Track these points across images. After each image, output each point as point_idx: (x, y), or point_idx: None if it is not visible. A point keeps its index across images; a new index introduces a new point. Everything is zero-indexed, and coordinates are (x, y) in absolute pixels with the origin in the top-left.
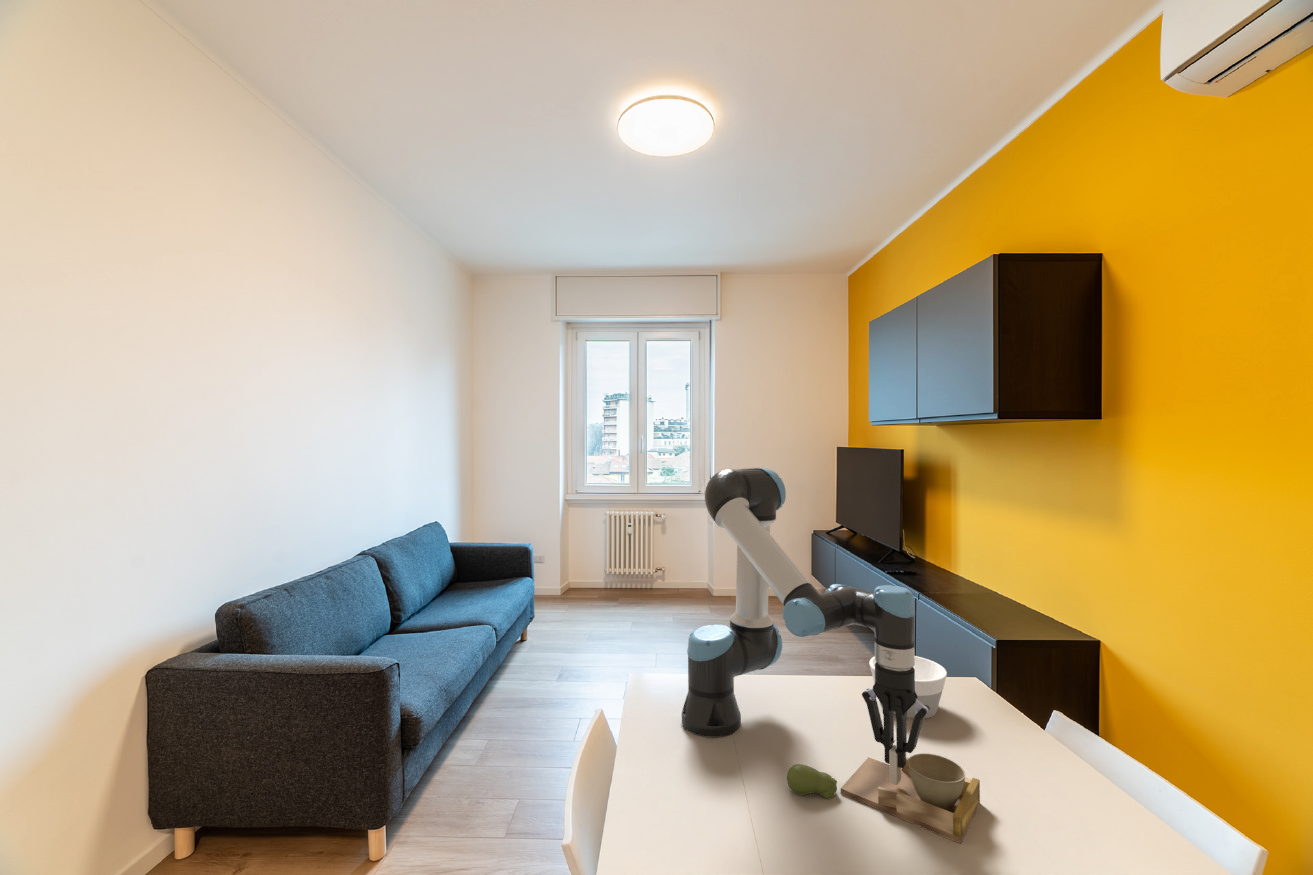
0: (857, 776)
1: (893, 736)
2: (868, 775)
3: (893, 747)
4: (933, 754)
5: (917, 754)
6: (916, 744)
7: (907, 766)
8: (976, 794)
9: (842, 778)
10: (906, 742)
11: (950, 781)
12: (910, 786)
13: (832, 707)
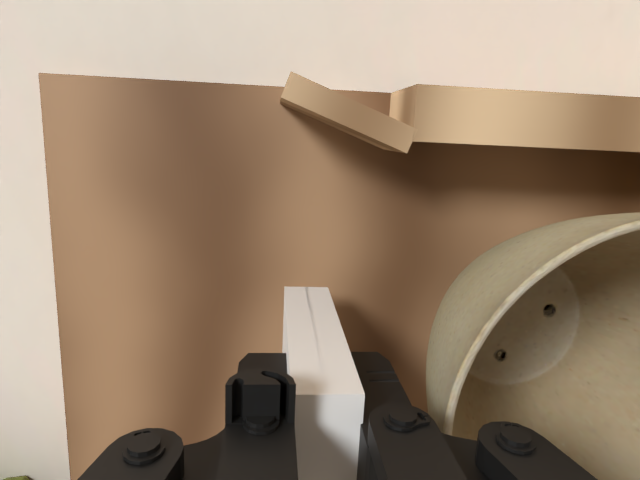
0: (89, 337)
1: (297, 477)
2: (135, 288)
3: (304, 447)
4: (619, 228)
5: (494, 325)
6: (565, 455)
7: (324, 120)
8: None
9: (23, 354)
10: (448, 452)
11: (633, 244)
12: (365, 244)
13: None
